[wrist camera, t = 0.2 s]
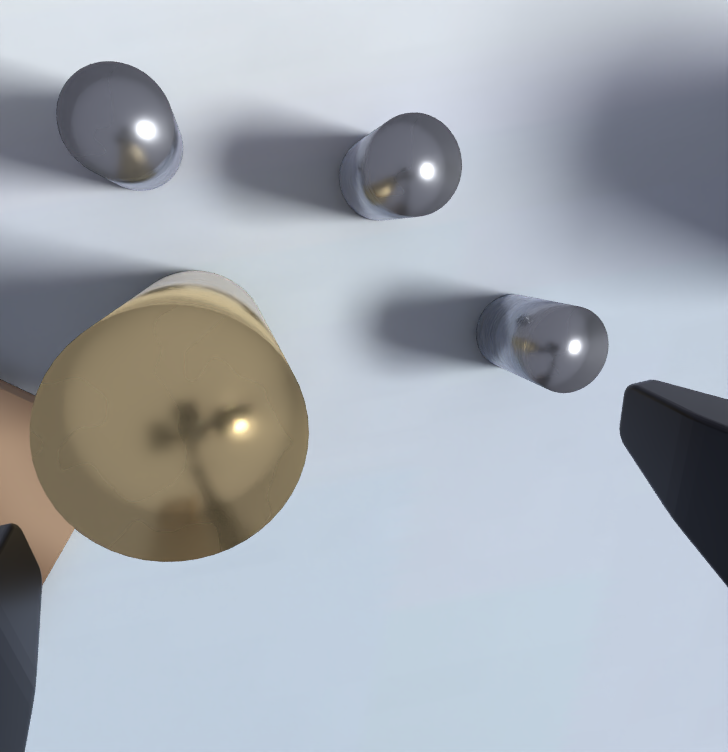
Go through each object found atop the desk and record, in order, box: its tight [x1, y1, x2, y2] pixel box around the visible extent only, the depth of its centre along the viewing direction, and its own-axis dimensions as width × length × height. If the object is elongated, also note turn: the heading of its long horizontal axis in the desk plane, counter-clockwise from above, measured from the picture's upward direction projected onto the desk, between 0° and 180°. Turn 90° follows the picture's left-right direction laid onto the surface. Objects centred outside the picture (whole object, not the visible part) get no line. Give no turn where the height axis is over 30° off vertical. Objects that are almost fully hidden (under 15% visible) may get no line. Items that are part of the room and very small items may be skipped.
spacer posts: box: [56, 61, 608, 393], centre depth 21 cm, size 8×24×4 cm, turn 82°
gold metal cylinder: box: [30, 271, 309, 562], centre depth 18 cm, size 5×5×12 cm
